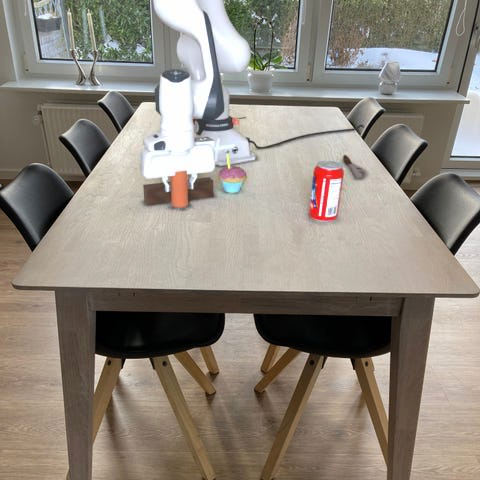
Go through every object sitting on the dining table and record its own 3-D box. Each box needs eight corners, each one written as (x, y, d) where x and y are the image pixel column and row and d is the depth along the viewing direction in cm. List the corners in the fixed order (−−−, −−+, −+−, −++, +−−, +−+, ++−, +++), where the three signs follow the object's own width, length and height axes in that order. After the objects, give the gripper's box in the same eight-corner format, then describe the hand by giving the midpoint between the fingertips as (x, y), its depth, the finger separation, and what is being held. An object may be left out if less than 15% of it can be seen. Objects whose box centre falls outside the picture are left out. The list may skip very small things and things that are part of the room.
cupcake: (225, 196, 155) (226, 155, 148) (213, 187, 161) (213, 147, 154) (251, 192, 158) (252, 152, 151) (238, 183, 164) (239, 144, 157)
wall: (209, 193, 156) (209, 177, 154) (213, 196, 154) (213, 180, 151) (144, 201, 149) (143, 184, 146) (147, 205, 147) (146, 188, 144)
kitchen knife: (369, 177, 171) (354, 175, 171) (367, 182, 172) (353, 180, 172) (356, 155, 188) (342, 153, 188) (354, 160, 189) (341, 158, 189)
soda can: (329, 226, 139) (337, 171, 131) (303, 219, 143) (309, 164, 134) (341, 217, 145) (349, 163, 137) (315, 210, 148) (322, 157, 140)
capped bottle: (185, 200, 150) (184, 161, 143) (190, 206, 146) (190, 166, 140) (168, 202, 148) (167, 162, 142) (174, 208, 144) (172, 168, 138)
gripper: (210, 133, 143) (210, 182, 151) (136, 138, 136) (140, 190, 144) (219, 139, 138) (218, 189, 146) (143, 145, 131) (146, 198, 139)
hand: (179, 190), depth 145 cm, fingers closed on capped bottle, 5 cm apart
